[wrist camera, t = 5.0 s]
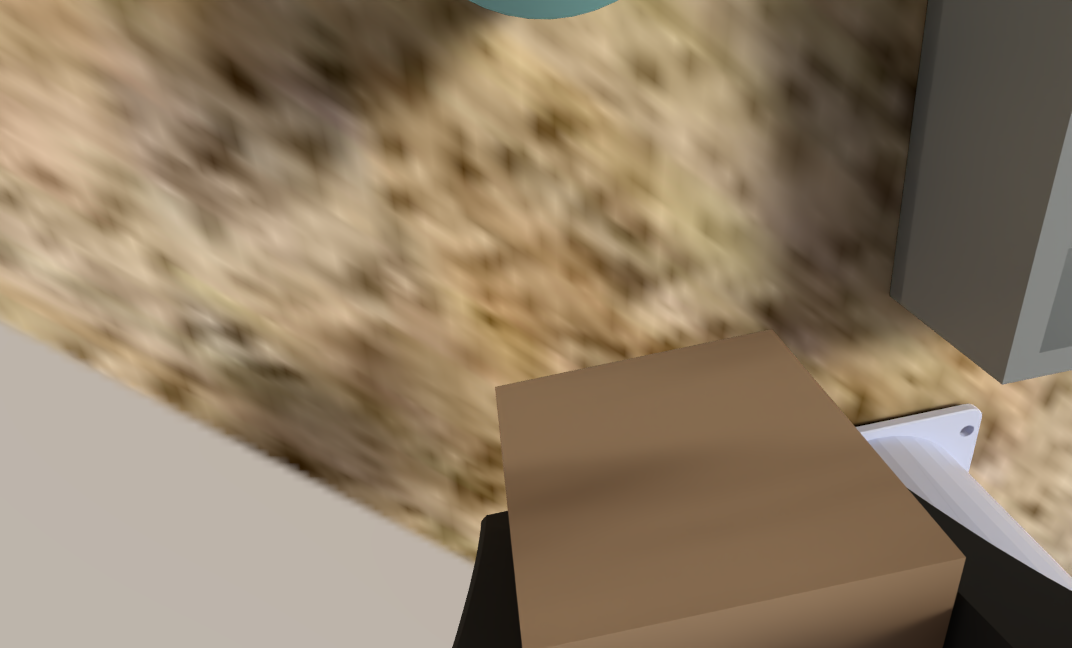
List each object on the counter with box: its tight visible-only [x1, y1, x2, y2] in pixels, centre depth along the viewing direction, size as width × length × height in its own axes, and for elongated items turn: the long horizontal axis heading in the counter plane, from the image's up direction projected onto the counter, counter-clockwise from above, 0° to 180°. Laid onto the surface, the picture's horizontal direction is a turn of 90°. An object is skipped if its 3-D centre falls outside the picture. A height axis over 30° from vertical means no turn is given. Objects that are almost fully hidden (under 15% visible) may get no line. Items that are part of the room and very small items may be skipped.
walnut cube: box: [495, 329, 966, 648], centre depth 11 cm, size 5×5×5 cm
